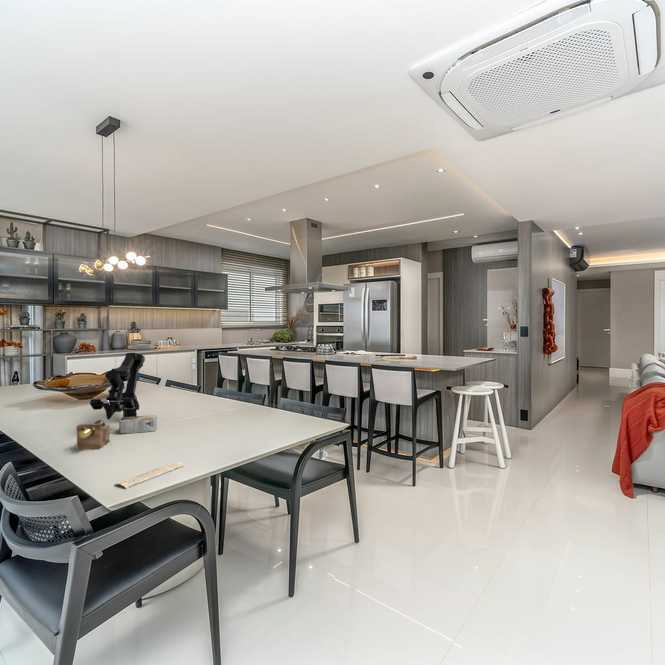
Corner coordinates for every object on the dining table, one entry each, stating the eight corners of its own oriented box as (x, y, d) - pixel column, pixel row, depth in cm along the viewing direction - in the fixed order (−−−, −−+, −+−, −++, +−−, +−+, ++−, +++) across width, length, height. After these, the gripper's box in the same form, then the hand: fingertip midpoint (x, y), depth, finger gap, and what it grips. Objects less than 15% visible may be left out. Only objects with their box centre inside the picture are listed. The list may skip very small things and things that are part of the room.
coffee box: (157, 427, 209) (122, 429, 204) (156, 414, 209) (122, 417, 204) (155, 431, 200) (119, 434, 195) (155, 418, 200) (118, 421, 195)
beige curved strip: (125, 491, 130) (125, 485, 130) (112, 487, 134) (112, 481, 134) (184, 468, 151) (184, 463, 151) (171, 465, 154) (171, 460, 154)
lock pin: (94, 430, 183) (94, 420, 183) (105, 429, 184) (105, 419, 184) (77, 440, 166) (76, 430, 166) (88, 440, 167) (88, 429, 167)
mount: (87, 443, 181) (87, 420, 181) (109, 442, 182) (109, 419, 182) (77, 450, 171) (76, 425, 171) (100, 449, 172) (99, 424, 172)
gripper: (139, 399, 210) (133, 426, 200) (101, 400, 207) (92, 428, 197) (134, 387, 202) (127, 414, 191) (94, 388, 199) (84, 416, 189)
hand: (108, 418), depth 192 cm, fingers closed
